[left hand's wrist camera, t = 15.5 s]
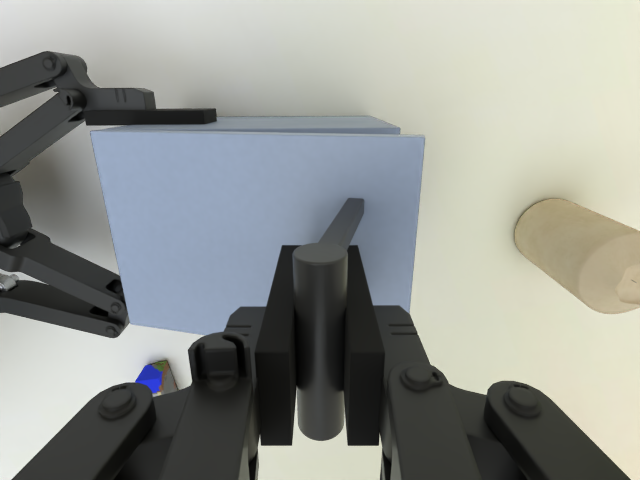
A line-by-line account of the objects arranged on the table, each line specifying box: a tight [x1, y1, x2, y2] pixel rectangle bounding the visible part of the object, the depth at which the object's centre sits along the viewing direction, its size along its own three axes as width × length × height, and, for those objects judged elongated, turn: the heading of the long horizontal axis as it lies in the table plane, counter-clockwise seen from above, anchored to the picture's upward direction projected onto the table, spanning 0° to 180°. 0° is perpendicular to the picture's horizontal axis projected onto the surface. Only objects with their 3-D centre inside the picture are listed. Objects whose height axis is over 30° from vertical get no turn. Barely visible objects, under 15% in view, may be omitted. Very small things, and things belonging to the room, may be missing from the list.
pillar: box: [135, 361, 178, 397], centre depth 39 cm, size 2×2×20 cm
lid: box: [90, 129, 425, 441], centre depth 15 cm, size 15×10×8 cm
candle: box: [515, 199, 640, 314], centre depth 27 cm, size 6×6×10 cm
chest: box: [105, 116, 400, 135], centre depth 25 cm, size 14×10×11 cm
